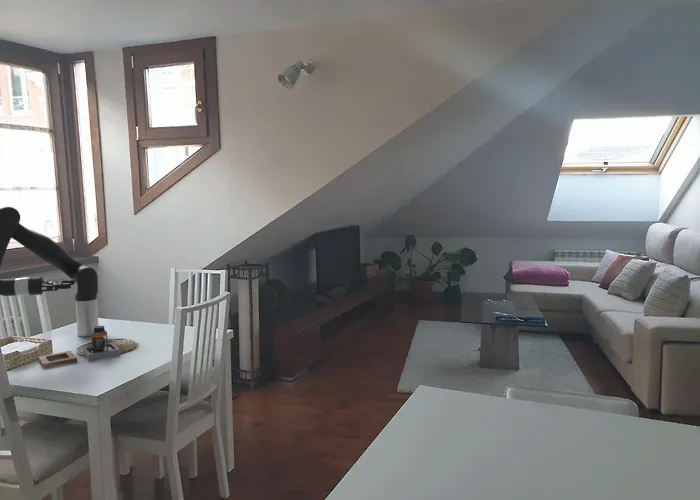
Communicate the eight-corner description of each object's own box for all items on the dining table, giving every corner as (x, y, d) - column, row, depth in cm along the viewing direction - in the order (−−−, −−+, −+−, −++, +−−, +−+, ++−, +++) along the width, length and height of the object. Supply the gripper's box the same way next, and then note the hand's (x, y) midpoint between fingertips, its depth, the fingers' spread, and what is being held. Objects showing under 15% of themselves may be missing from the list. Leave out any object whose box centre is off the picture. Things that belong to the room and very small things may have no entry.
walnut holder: (38, 360, 216) (38, 356, 215) (71, 354, 223) (70, 350, 223) (43, 368, 206) (43, 364, 206) (77, 362, 214) (77, 358, 213)
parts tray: (82, 354, 224) (82, 347, 224) (112, 348, 231) (112, 342, 231) (89, 361, 215) (88, 354, 214) (120, 355, 222) (119, 349, 222)
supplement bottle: (110, 352, 223) (109, 326, 221) (96, 355, 219) (94, 329, 217) (105, 349, 227) (103, 324, 226) (90, 352, 223) (89, 326, 221)
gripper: (24, 280, 210) (69, 278, 216) (32, 274, 224) (75, 272, 229) (25, 298, 211) (70, 296, 217) (34, 291, 225) (76, 289, 230)
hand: (72, 284), depth 223 cm, fingers open, 8 cm apart
